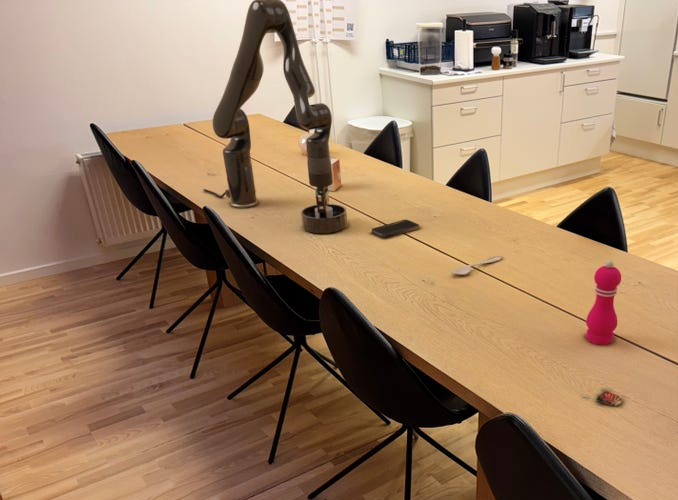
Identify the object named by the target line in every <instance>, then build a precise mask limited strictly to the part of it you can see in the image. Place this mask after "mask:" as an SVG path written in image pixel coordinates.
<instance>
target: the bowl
mask: <svg viewBox="0 0 678 500" xmlns="http://www.w3.org/2000/svg"><path fill="white" fill-rule="evenodd" d="M328 206H329V207H332V209H333V217H328V218H316V217H315V208H317V204H314V205H309V206H307V207H304V208H303V209H302V210H300V216H301V226H302V227H301V228H302V229H304V230H305V231H307V232H309V233H312V234H321V235H323V234H325V235H326V234H333V233H336V232H339V231H342V230H344V229H345V228H347V226H348V215H347V208H345V206H343V205H339V204H334V203H329V205H328ZM320 207H321V206H320Z"/></svg>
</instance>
